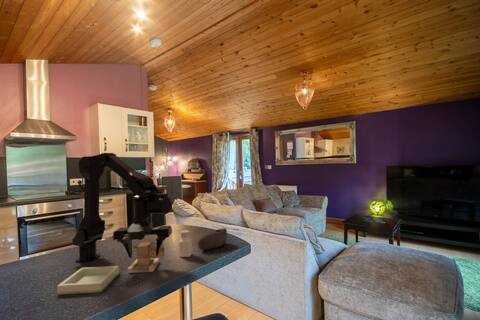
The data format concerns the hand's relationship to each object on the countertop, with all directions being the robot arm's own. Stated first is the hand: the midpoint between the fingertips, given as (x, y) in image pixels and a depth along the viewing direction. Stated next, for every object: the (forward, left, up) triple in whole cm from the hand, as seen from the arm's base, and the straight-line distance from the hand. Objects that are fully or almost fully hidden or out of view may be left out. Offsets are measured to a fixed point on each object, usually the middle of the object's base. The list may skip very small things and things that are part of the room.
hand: (144, 256), depth 88 cm
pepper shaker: (-9, +13, -4) cm, 16 cm away
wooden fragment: (-18, -3, -4) cm, 19 cm away
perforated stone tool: (-17, +23, -4) cm, 29 cm away
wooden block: (0, 0, -4) cm, 4 cm away
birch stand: (0, 0, -4) cm, 4 cm away
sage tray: (+10, -13, -4) cm, 17 cm away
